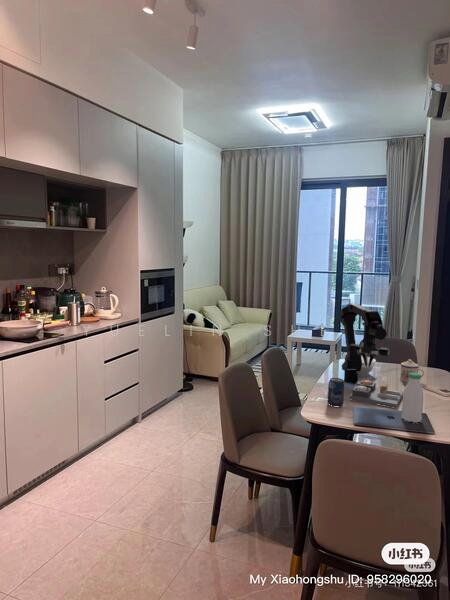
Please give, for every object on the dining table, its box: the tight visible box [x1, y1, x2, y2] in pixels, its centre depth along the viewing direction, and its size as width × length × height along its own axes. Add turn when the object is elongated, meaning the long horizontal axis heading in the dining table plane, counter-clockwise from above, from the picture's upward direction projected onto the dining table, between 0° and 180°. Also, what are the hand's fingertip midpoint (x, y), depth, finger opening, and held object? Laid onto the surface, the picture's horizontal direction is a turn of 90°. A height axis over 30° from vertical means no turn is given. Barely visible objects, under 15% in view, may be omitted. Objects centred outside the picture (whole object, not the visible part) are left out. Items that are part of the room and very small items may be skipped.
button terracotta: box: [361, 379, 373, 385], centre depth 214 cm, size 4×4×2 cm
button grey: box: [356, 385, 367, 392], centre depth 205 cm, size 4×4×2 cm
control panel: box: [348, 379, 404, 409], centre depth 206 cm, size 21×20×4 cm
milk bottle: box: [401, 372, 424, 423], centre depth 178 cm, size 8×8×20 cm
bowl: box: [358, 355, 377, 377], centre depth 247 cm, size 16×16×9 cm
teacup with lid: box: [399, 359, 425, 383], centre depth 234 cm, size 12×9×12 cm
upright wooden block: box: [379, 382, 388, 394], centre depth 205 cm, size 2×5×4 cm, turn 150°
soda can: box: [327, 377, 345, 407], centre depth 195 cm, size 7×7×12 cm
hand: (367, 366), depth 213 cm, fingers closed
